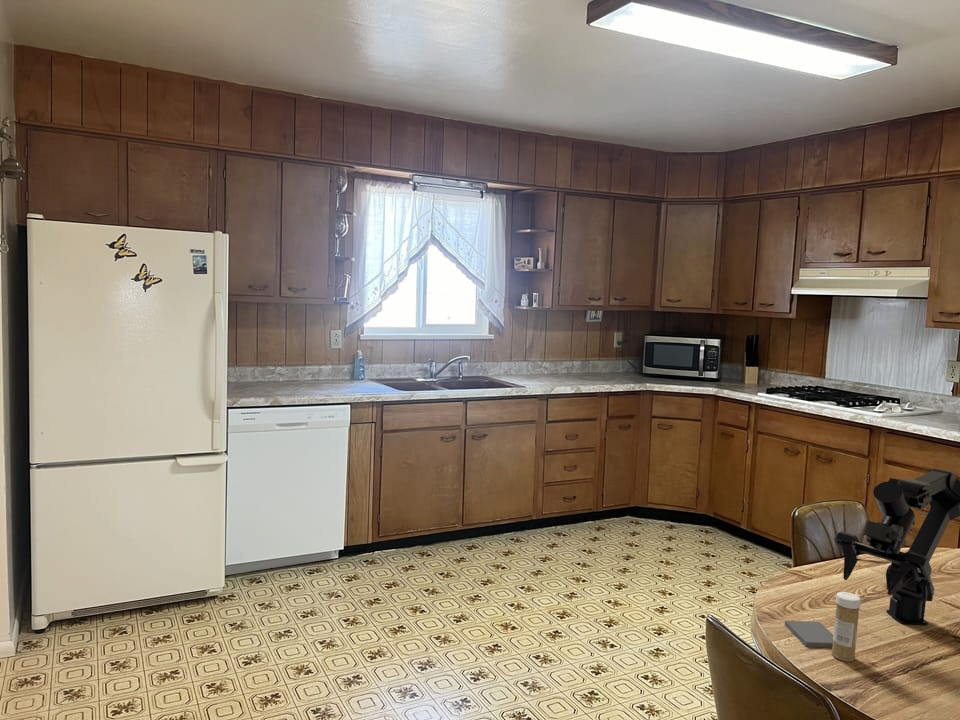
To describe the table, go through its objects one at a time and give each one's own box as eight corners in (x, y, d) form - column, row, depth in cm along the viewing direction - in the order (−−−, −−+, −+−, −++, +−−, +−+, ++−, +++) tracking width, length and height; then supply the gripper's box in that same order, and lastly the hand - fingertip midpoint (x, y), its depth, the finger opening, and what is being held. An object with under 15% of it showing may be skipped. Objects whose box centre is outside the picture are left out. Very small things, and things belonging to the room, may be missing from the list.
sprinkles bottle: (859, 659, 151) (865, 597, 149) (847, 664, 148) (853, 602, 147) (838, 649, 154) (844, 589, 153) (826, 654, 152) (832, 593, 151)
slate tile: (818, 625, 165) (819, 621, 165) (841, 647, 155) (842, 643, 155) (784, 624, 165) (785, 620, 165) (805, 646, 155) (806, 642, 155)
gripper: (841, 496, 164) (813, 552, 158) (932, 519, 149) (904, 582, 144) (854, 524, 169) (827, 579, 164) (942, 548, 155) (916, 610, 149)
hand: (866, 586), depth 155 cm, fingers open, 9 cm apart
